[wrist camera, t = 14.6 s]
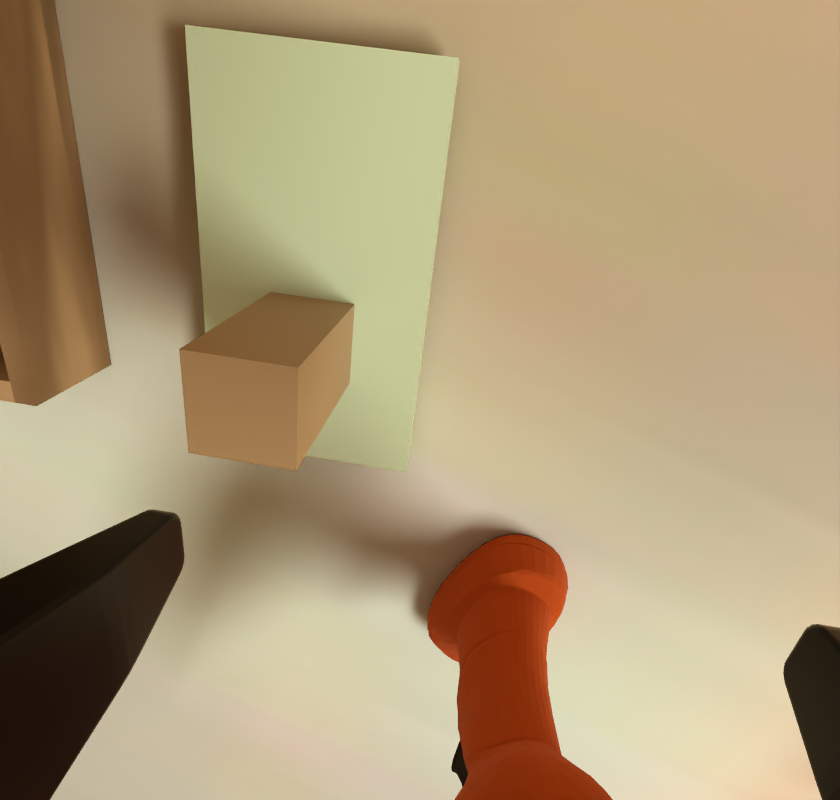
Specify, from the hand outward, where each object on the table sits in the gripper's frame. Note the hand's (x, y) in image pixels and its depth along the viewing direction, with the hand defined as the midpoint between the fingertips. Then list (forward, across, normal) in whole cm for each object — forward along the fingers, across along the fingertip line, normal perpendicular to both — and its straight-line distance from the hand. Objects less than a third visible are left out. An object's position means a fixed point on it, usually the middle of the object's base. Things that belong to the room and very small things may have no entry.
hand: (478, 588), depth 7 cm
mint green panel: (+12, +6, -1) cm, 14 cm away
